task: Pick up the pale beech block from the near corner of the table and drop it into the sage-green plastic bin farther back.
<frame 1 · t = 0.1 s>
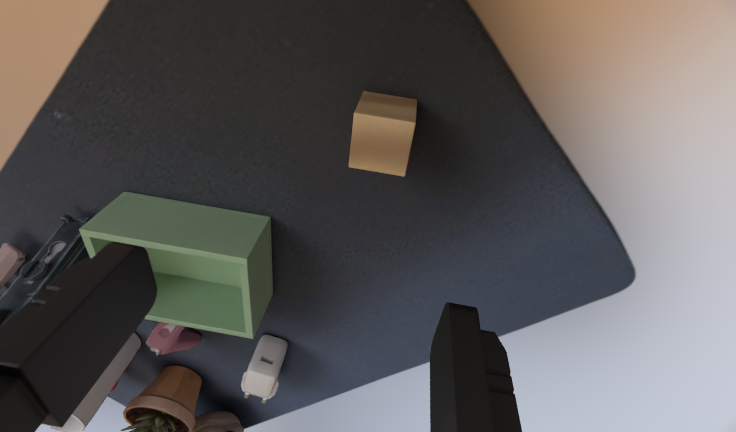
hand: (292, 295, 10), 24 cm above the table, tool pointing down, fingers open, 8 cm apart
block: (386, 120, 33), on the table
power adapter: (270, 356, 55), on the table
potted plant: (185, 375, 60), on the table
toy: (194, 419, 65), point 2 cm above the table
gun: (108, 259, 47), on the table
bin: (204, 246, 44), on the table
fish: (19, 260, 50), on the table
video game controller: (194, 310, 51), on the table
mug: (111, 334, 56), on the table
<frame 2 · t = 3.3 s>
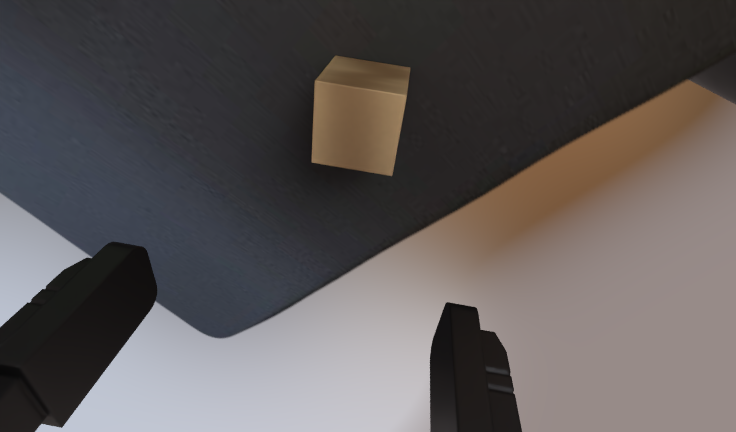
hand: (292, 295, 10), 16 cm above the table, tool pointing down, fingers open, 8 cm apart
block: (368, 98, 24), on the table
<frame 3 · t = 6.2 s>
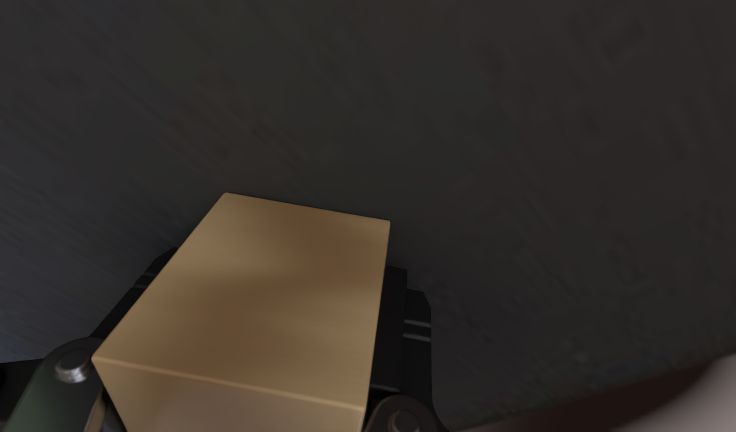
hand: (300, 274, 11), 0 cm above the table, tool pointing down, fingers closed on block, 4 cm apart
block: (304, 267, 11), on the table, touching gripper
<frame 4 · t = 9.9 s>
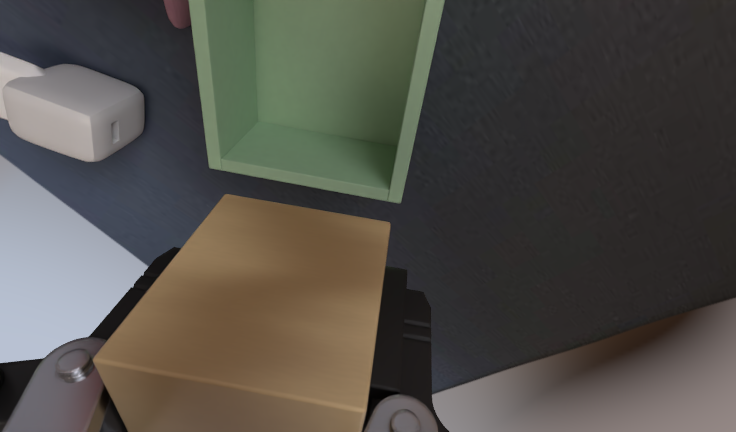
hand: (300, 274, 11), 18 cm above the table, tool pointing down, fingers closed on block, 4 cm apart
block: (305, 268, 11), point 18 cm above the table, touching gripper
power adapter: (77, 83, 29), on the table
bin: (337, 23, 24), on the table
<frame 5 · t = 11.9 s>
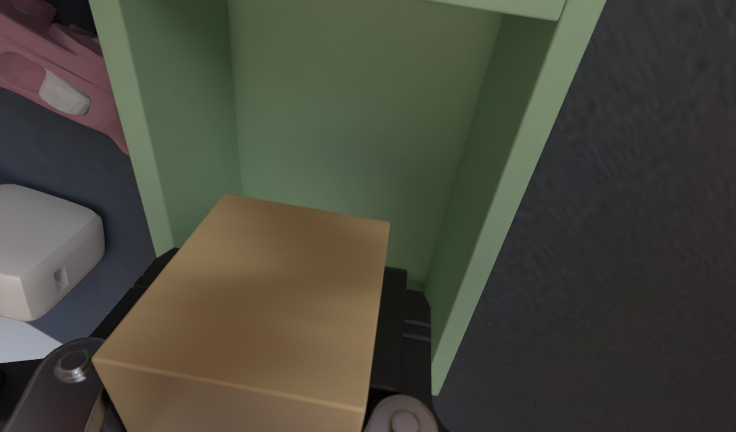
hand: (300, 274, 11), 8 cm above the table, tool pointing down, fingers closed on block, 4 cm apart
block: (304, 267, 11), point 8 cm above the table, touching gripper
power adapter: (18, 200, 23), on the table
bin: (348, 147, 18), on the table
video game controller: (81, 36, 17), on the table
when the fingers open (5 cm above the table, at t = 14.2 s): block stays where it is, resting on bin.
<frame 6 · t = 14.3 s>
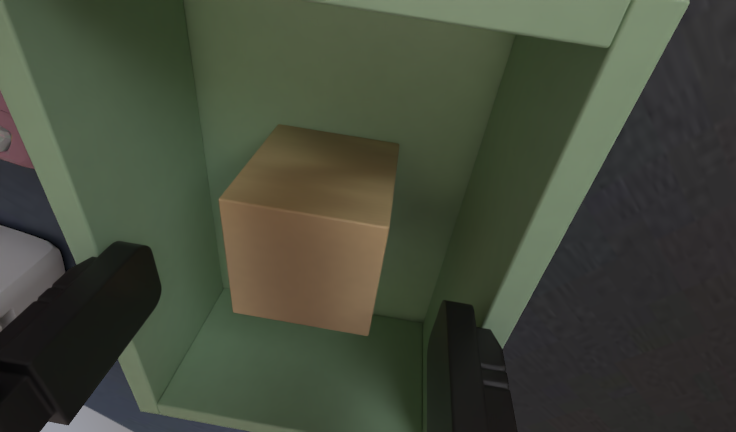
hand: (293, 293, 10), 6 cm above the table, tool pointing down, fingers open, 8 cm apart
block: (334, 185, 15), point 1 cm above the table, touching bin
bin: (335, 176, 16), on the table
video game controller: (19, 49, 14), on the table
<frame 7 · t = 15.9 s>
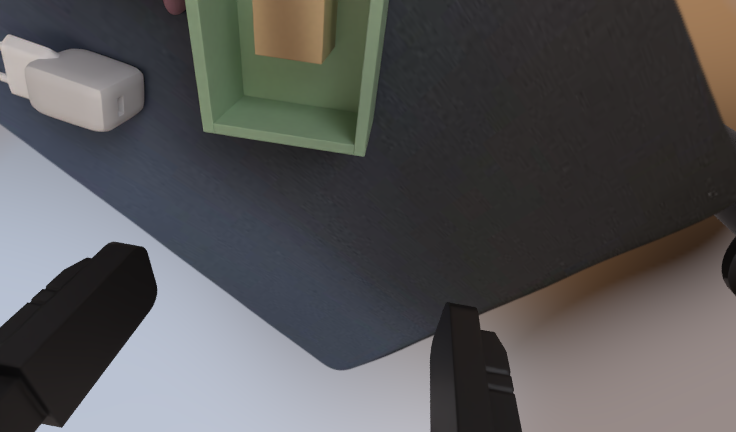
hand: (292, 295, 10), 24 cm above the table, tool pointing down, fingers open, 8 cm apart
block: (306, 10, 28), point 1 cm above the table, touching bin
power adapter: (84, 66, 33), on the table
bin: (307, 8, 28), on the table
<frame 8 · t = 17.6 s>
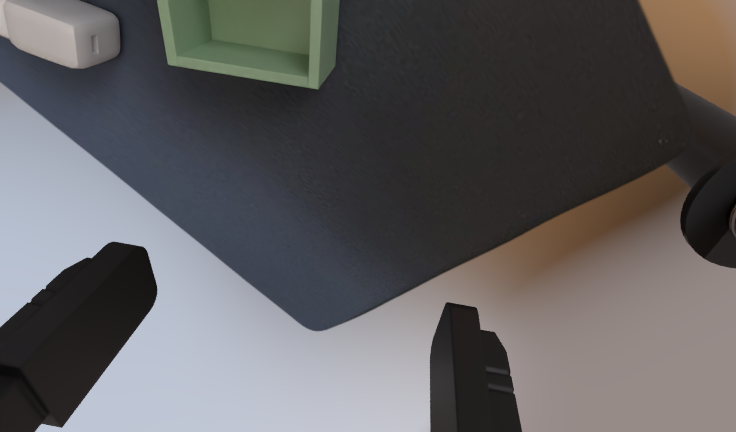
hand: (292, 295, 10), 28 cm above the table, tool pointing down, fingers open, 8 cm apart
power adapter: (64, 12, 35), on the table
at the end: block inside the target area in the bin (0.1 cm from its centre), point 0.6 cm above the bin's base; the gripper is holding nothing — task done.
